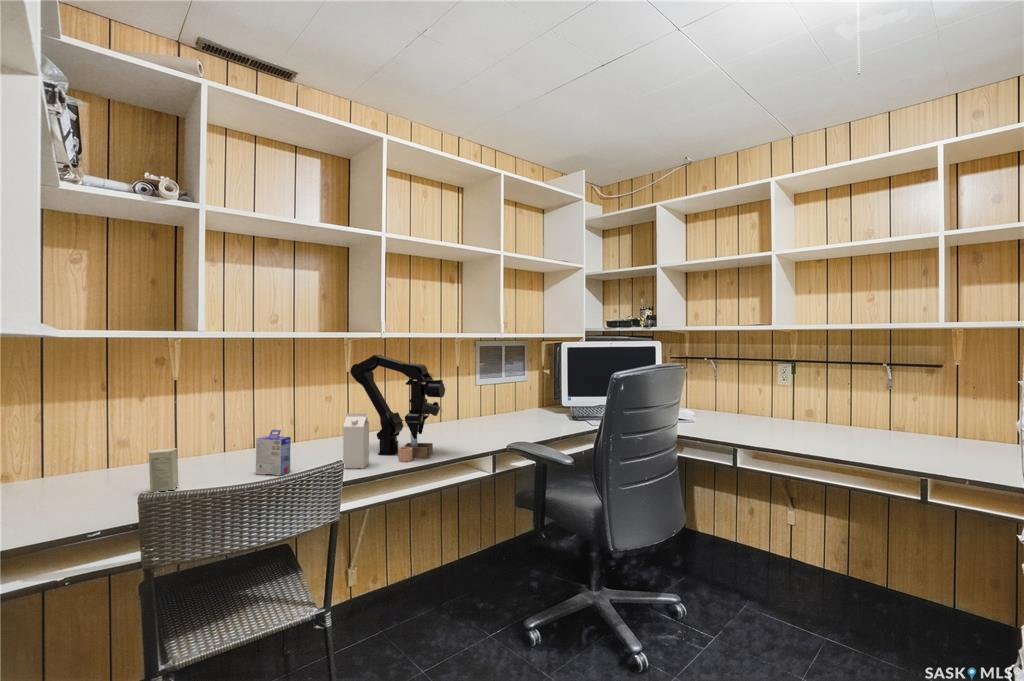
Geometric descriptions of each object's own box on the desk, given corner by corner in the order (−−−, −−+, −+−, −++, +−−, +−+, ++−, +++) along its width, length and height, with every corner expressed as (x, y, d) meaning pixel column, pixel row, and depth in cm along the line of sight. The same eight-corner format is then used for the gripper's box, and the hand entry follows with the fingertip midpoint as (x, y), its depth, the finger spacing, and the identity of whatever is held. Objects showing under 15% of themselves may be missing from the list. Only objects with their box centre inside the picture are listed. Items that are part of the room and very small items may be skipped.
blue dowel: (411, 455, 194) (407, 434, 195) (412, 454, 197) (408, 433, 197) (420, 453, 194) (416, 432, 195) (421, 452, 197) (417, 431, 197)
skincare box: (178, 487, 154) (178, 447, 153) (173, 491, 149) (173, 450, 149) (154, 488, 152) (154, 448, 152) (148, 493, 148) (148, 452, 147)
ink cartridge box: (291, 471, 171) (291, 429, 171) (281, 476, 166) (281, 432, 166) (265, 470, 173) (265, 428, 173) (254, 474, 168) (254, 431, 168)
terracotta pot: (396, 462, 185) (396, 449, 185) (400, 458, 190) (400, 446, 190) (410, 462, 185) (410, 449, 185) (413, 458, 190) (413, 446, 190)
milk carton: (349, 463, 182) (349, 411, 182) (368, 463, 182) (369, 411, 182) (343, 468, 175) (343, 415, 175) (363, 469, 175) (363, 415, 175)
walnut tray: (402, 457, 191) (402, 447, 191) (407, 452, 199) (407, 442, 199) (428, 458, 191) (428, 447, 191) (432, 453, 199) (432, 443, 199)
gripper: (434, 399, 185) (433, 441, 186) (442, 393, 204) (442, 431, 204) (404, 399, 186) (404, 441, 186) (415, 393, 204) (415, 431, 205)
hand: (417, 436), depth 195 cm, fingers open, 9 cm apart
